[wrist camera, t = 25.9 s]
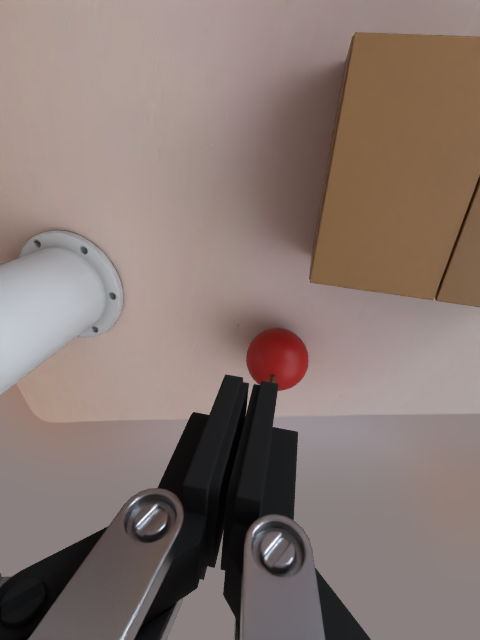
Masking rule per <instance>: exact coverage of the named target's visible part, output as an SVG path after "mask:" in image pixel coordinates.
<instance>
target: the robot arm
mask: <svg viewBox="0 0 480 640" xmlns="http://www.w3.org/2000/svg"><path fill="white" fill-rule="evenodd" d="M122 307H123V290H122V285H121V281H120V279H119V276H118V274H117V271H116V270H115V268H114V266H113V265H112V263H111V261H110V260H109V259H108V258H107V257H106V255H105V254H104V253H103V252H102V251H101V250H100V249H99V248H98V247H97V246H95V245H94V244H93V243H91V242H90V241H88V240H87V239H85V238H84V237H81V236H79V235H77V234H75V233H71V232H67V231H59V230H53V231H48V232H44V233H41V234H38V235H35V236H34V237H32V238H31V239H29V240H28V241H27V242H26V244H25V245H24V246H23V248H22V250H21V252H20V254H19V258H18V259H15V260H12V261H9V262H7V263H4V264H1V265H0V395H1V394H2V393H4V392H5V391H6V390H8V389H9V388H10V387H12V386H13V385H14V384H16V383H17V382H18V381H19V380H21V379H22V378H23V377H25V376H26V375H27V374H29V373H30V372H31V371H32V370H34V369H35V368H36V367H38V366H39V365H40V364H42V363H43V362H44V361H45V360H47V359H48V358H49V357H51V356H52V355H53V354H55V353H56V352H57V351H58V350H60V349H61V348H62V347H64V346H65V345H66V344H68V343H69V342H70V341H71V340H73V339H74V338H75V337H94V336H97V335H100V334H102V333H104V332H105V331H107V330H108V329H109V328H110V327H112V326H113V325H114V324H115V322H116V321H117V320H118V318H119V316H120V314H121V311H122ZM278 385H279V384H278V383H272V382H266V381H261V384H260V385H256V384H254V385H253V389H252V393H251V397H250V401H249V405H248V409H247V413H246V407H247V397H248V387H249V383H244V382H243V377H237V376H231V375H225V377H224V379H223V382H222V384H221V387H220V389H219V392H218V394H217V397H216V400H215V402H214V405H213V407H212V410H211V412H210V415H206V414H201V413H196V412H193V413H192V415H191V416H190V418H189V421H188V423H187V425H186V427H185V429H184V431H183V434H182V436H181V438H180V440H179V443H178V445H177V447H176V449H175V451H174V453H173V455H172V458H171V460H170V462H169V464H168V466H167V469H166V471H165V473H164V476H163V477H162V479H161V482H160V484H159V486H158V488H152V489H147V490H144V491H141V492H139V493H137V494H136V495H134V496H133V497H131V498H130V499H129V500H128V501H127V502H126V503H125V504H124V505H123V507H122V508H121V510H120V511H119V512H118V514H117V515H116V517H115V518H114V519H113V521H112V522H111V524H110V525H109V526H108V527H106V528H104V529H102V530H100V531H98V532H96V533H94V534H92V535H90V536H89V537H87V538H85V539H83V540H81V541H79V542H77V543H75V544H73V545H71V546H69V547H67V548H65V549H63V550H61V551H59V552H57V553H55V554H53V555H51V556H49V557H47V558H45V559H43V560H41V561H39V562H38V563H35V564H34V565H32V566H30V567H28V568H26V569H24V570H22V571H20V572H18V573H17V574H15V575H14V576H13V577H2V576H1V574H0V640H167V638H168V635H169V633H170V631H171V628H172V626H173V624H174V621H175V619H176V616H177V614H178V612H179V609H180V607H181V605H182V601H183V597H185V596H186V595H188V594H189V593H191V592H192V591H193V590H195V589H196V588H197V587H198V583H199V579H203V580H204V576H205V572H206V569H207V566H209V567H213V568H214V567H215V564H216V560H217V556H218V552H219V547H220V543H221V538H222V534H223V530H224V534H223V546H222V559H221V570H225V582H224V593H223V595H224V597H225V599H226V601H227V603H228V604H229V606H230V608H231V610H232V612H233V614H234V615H235V624H234V640H370V638H369V637H368V635H367V634H366V633H365V631H364V630H363V629H362V628H361V626H360V625H359V624H358V622H357V621H356V620H355V618H354V617H353V616H352V615H351V613H350V612H349V611H348V609H347V608H346V607H345V606H344V604H343V603H342V602H341V600H340V599H339V598H338V597H337V595H336V594H335V593H334V591H333V590H332V589H331V587H330V586H329V585H328V584H327V582H326V581H325V580H324V579H323V577H322V576H321V575H320V573H319V572H318V571H317V569H316V568H315V564H314V558H313V550H312V547H311V543H310V540H309V538H308V536H307V534H306V533H305V531H304V529H303V528H302V527H301V526H299V524H297V523H296V522H295V521H294V501H295V481H296V461H297V442H298V432H296V431H291V430H285V429H279V428H275V427H272V426H273V419H274V413H275V406H276V399H277V392H278Z"/></svg>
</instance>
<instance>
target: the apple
mask: <svg viewBox="0 0 480 640" xmlns="http://www.w3.org/2000/svg"><path fill="white" fill-rule="evenodd" d="M246 362H247V367H248V370H249V373H250V375H251V376H252V378H253V379H254V380H255V381H256V382H257V383H258V384H259V385H260V384H261V381H266V382H272V383H278V384H279V385H278V391H280V390H286V389H289V388H291V387H293V386H295V385H296V384H297V383H299V382H300V381H301V379H302V378H303V377H304V375H305V373H306V371H307V368H308V352H307V349H306V347H305V345H304V343H303V342H302V340H301V339H300V338H299V337H298V336H297V335H296V334H294V333H292V332H290V331H288V330H285V329H279V328H275V329H269V330H266V331H264V332H262V333H260V334H259V335H257V336H256V337H255V338H254V339H253V341H252V342H251V344H250V346H249V348H248V351H247V356H246Z"/></svg>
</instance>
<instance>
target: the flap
mask: <svg viewBox="0 0 480 640" xmlns="http://www.w3.org/2000/svg"><path fill="white" fill-rule="evenodd" d="M479 175H480V37H471V36H443V35H415V34H387V33H358V32H356V33H355V34H354V39H353V45H352V50H351V56H350V61H349V67H348V73H347V78H346V84H345V89H344V95H343V100H342V106H341V111H340V117H339V122H338V128H337V133H336V139H335V144H334V150H333V156H332V161H331V167H330V172H329V178H328V183H327V189H326V194H325V200H324V205H323V211H322V216H321V222H320V228H319V233H318V239H317V244H316V250H315V255H314V261H313V266H312V272H311V277H310V283H317V284H324V285H331V286H338V287H345V288H352V289H359V290H366V291H373V292H380V293H387V294H394V295H401V296H408V297H415V298H422V299H429V300H434V297H435V294H436V292H437V289H438V286H439V284H440V281H441V278H442V276H443V273H444V270H445V267H446V265H447V262H448V259H449V257H450V254H451V251H452V248H453V246H454V243H455V240H456V238H457V235H458V232H459V229H460V227H461V224H462V221H463V219H464V216H465V213H466V211H467V208H468V205H469V202H470V200H471V197H472V194H473V192H474V189H475V186H476V183H477V181H478V178H479Z"/></svg>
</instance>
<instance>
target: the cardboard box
mask: <svg viewBox="0 0 480 640" xmlns="http://www.w3.org/2000/svg"><path fill="white" fill-rule="evenodd" d="M353 39H354V35H353V37H352V40H351V44H350V47H349V51H348V55H347V59H346V63H345V69H344V74H343V80H342V86H341V91H340V97H339V103H338V108H337V114H336V120H335V125H334V131H333V137H332V142H331V148H330V154H329V159H328V165H327V171H326V176H325V182H324V188H323V193H322V199H321V205H320V210H319V216H318V222H317V227H316V233H315V239H314V244H313V250H312V256H311V265H310V275H309V279H310V277H311V272H312V266H313V261H314V255H315V250H316V244H317V239H318V233H319V228H320V222H321V216H322V211H323V205H324V200H325V194H326V189H327V183H328V178H329V172H330V167H331V161H332V156H333V150H334V144H335V139H336V133H337V128H338V122H339V117H340V111H341V106H342V100H343V95H344V89H345V84H346V78H347V73H348V67H349V61H350V56H351V50H352V45H353ZM435 300H436V301H441V302H448V303H455V304H462V305H469V306H476V307H480V175H479V178H478V181H477V183H476V186H475V189H474V192H473V194H472V197H471V200H470V202H469V205H468V208H467V211H466V213H465V216H464V219H463V221H462V224H461V227H460V229H459V232H458V235H457V238H456V240H455V243H454V246H453V248H452V251H451V254H450V257H449V259H448V262H447V265H446V267H445V270H444V273H443V276H442V278H441V281H440V284H439V286H438V289H437V292H436V294H435Z"/></svg>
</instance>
